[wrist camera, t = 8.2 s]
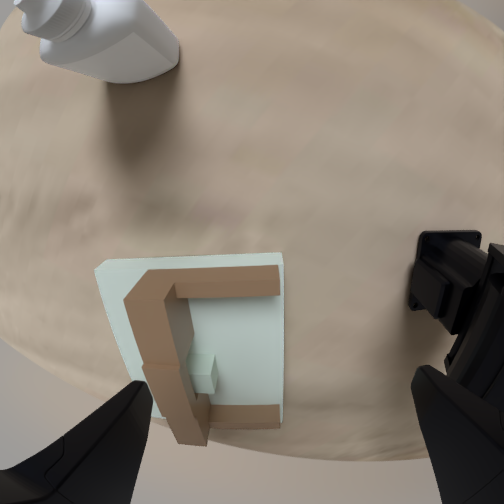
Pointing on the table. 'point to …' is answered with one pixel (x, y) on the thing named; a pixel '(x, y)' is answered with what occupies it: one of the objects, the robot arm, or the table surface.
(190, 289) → the brown c-shaped bracket
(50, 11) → the eye dropper bottle
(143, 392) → the robot arm
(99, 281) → the stand
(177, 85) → the table surface
